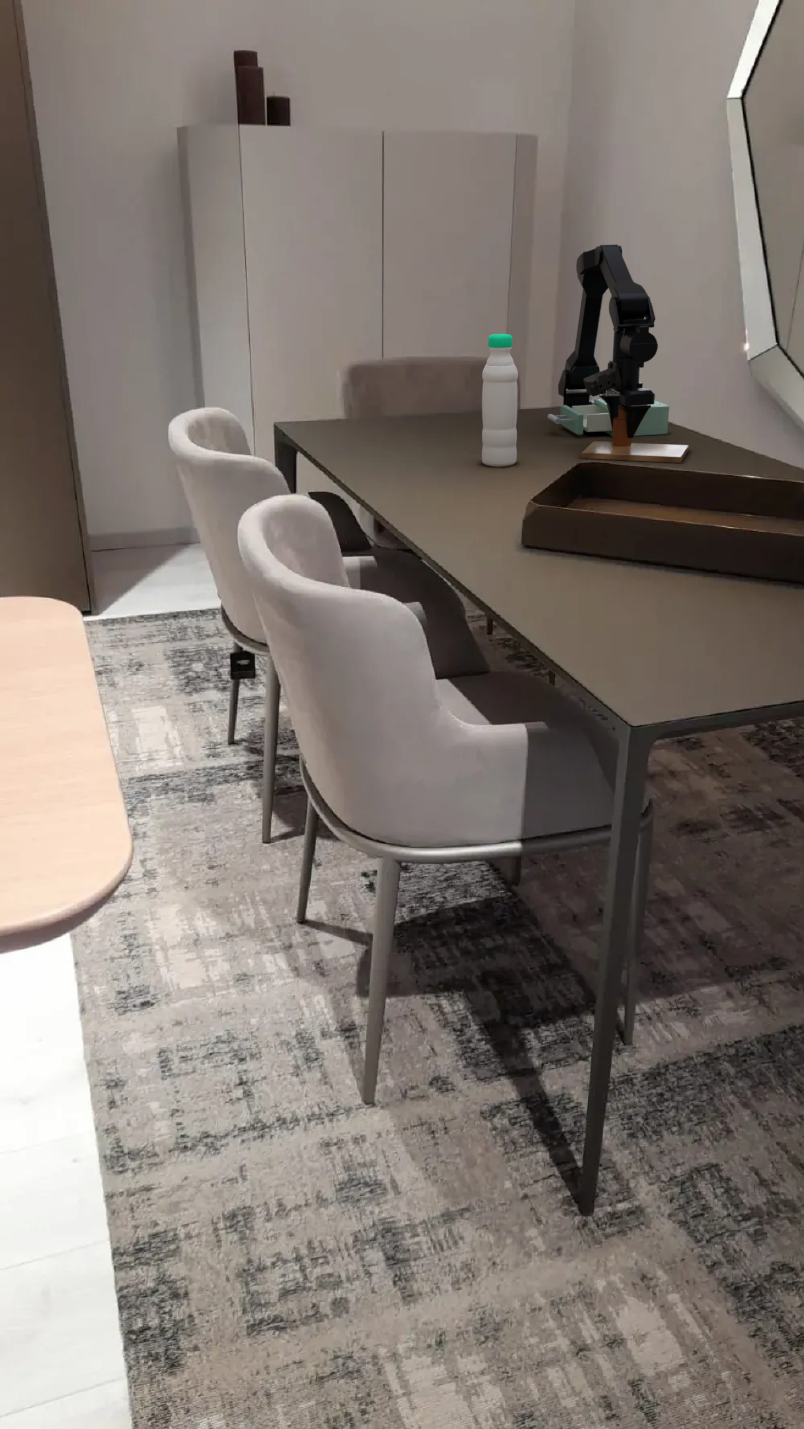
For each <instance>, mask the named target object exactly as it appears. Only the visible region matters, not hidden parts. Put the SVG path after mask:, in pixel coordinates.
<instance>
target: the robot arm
mask: <svg viewBox="0 0 804 1429" xmlns="http://www.w3.org/2000/svg"><path fill="white" fill-rule="evenodd" d="M575 265H576V267H575V268H576V273H577V279H578V281H579V284H580V286H581V289H582V293H581V301H580V308H579V314H578V315H579V316H578V321H577V322H578V323H577V330H576V337H575V343H574V344H575V345H574V349H573V351H572V352H571V354H570V355H568V357H567V358H566V360H565V364H564V369H563V370H562V372H561V375H560V378H559V381H558V384H557V391H558V392H557V394H558V395H559V396H561V397H563V402H562V405H566V406H568V407H570V408H572V406H583V405H594V399H593V397H597V396H598V397H599V399H602V400H603V401H604V402H605V403H606V404H607V407H608V411H609V416H610V421H611V425H612V430H613V419H614V418H616V417H618V414H619V409H618V406H620V407H621V408H622V409H623V411H624V412H625V416H626V430H627V437H628V438H632V439H633V438H634V437H635V436H634V435H635V433H636V431H637V429H638V427H639V425H640V423H641V421H642V420H643V418H644V416H645V414H646V413H647V411H648V409H649V408H651V405H653V404H654V401H655V400H656V399H655V398H656V394H655V393H654V391H652V390H651V389H650V388H647V387H643V386H644V383H643V382H641V368H642V369H643V368H645V363H648V362H650V361H651V360H652V359H653V358H654V357H655V356H656V354H657V353H658V349H659V348H658V347H659V343H658V340H657V338H656V336H655V335H654V334H653V333H651V332H650V329H651V328H655V321H656V315H655V311H654V307H653V303H652V301H651V297H650V296H649V295H648V292H647V291H646V289H645V288H644V286H643V285H641V284H639V283H637V282H635V281H634V280H633V278H632V275H631V273H630V271H629V268H628V266H627V264H626V261H625V260H624V256H623V248H622V246H621V245H619V244H599V245H598V246H595V248H593V249H590V250H587V251H583V252H582V253H581V254H579V256H578V257H577V258H576V264H575ZM608 290H609V293H610V299H609V302H608V313H609V317H610V320H611V323H612V326H613V328H612V329H613V341H612V343H613V345H612V358H611V359H612V360H609V361H608V363H607V367H606V369H604V370H601V369H600V366H599V364H598V362H597V360H596V358H595V353H596V346H597V340H598V333H599V327H600V319H601V313H602V307H603V299H604V295H605V294H606V292H607V291H608ZM600 370H601V371H600Z"/></svg>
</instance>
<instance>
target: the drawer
mask: <svg viewBox="0 0 804 1429" xmlns="http://www.w3.org/2000/svg"><path fill="white" fill-rule="evenodd" d="M559 414H560V415H559ZM559 414H557V415H555V414H552V413H549V414H547V420H549V421H550V422H552V423H553V424H556V425H560V426H563V428H566V429H567V430H569V431H571V432H572V433H574V434H575V435H584V431H585V432H587V433H594V432H604V431H613V430H612V425H611V421H610V416H609V411H608V409H606V408H604V407H602V406H600V405H583V406H572V408H570V407H568V406H566V405H563V404H561V405H560V413H559Z"/></svg>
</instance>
